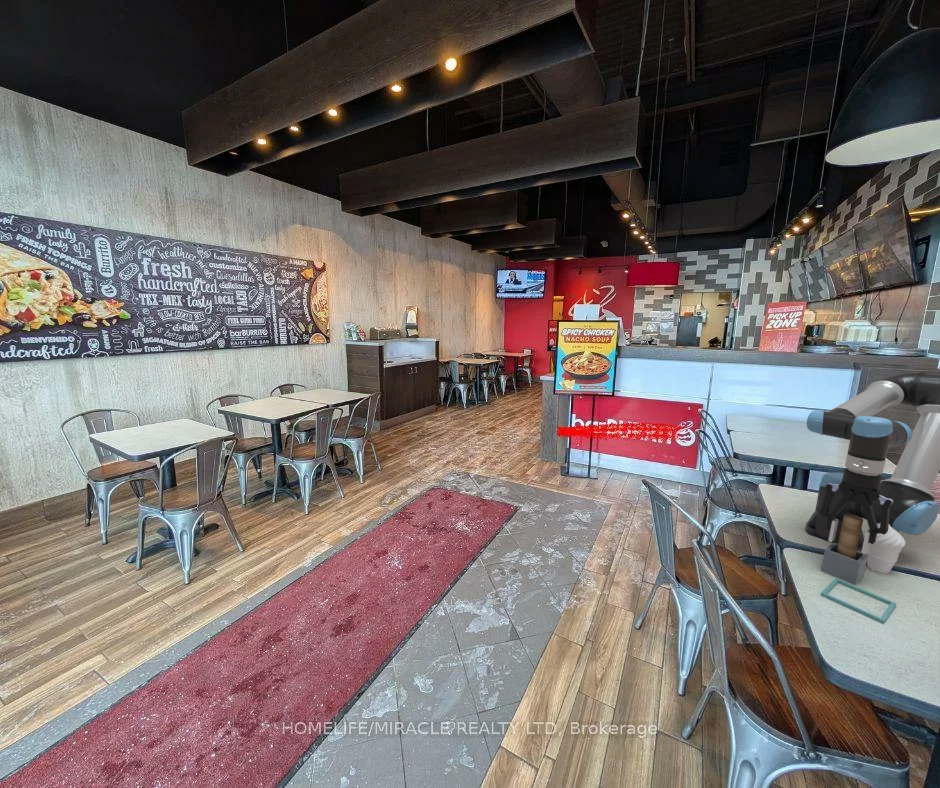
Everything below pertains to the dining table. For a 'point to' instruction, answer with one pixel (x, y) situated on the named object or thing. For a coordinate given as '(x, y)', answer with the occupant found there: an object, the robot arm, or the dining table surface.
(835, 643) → the dining table surface
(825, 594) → the tray
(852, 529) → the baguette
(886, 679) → the dining table surface
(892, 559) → the soft serve ice cream cone
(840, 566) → the open box
